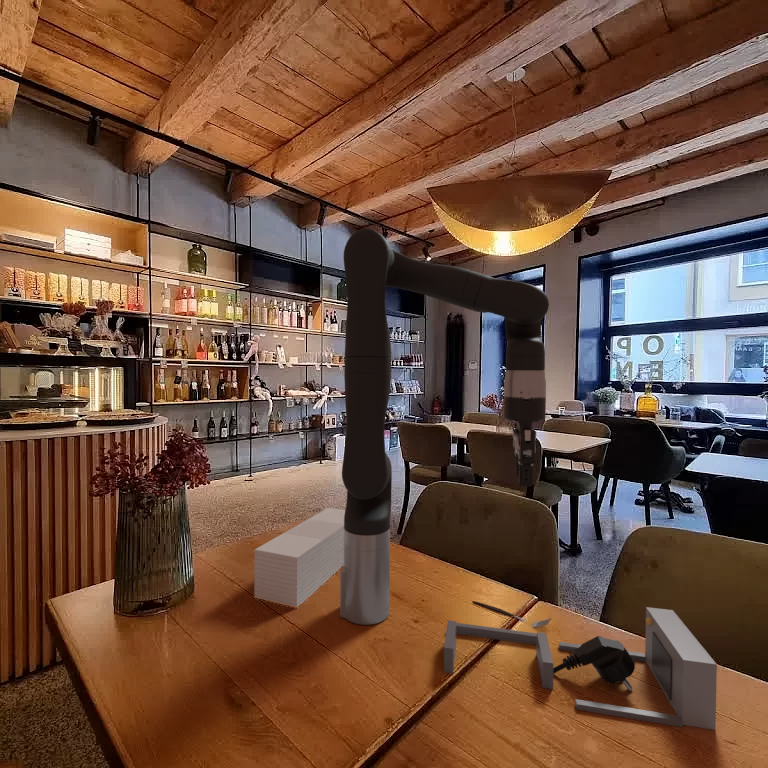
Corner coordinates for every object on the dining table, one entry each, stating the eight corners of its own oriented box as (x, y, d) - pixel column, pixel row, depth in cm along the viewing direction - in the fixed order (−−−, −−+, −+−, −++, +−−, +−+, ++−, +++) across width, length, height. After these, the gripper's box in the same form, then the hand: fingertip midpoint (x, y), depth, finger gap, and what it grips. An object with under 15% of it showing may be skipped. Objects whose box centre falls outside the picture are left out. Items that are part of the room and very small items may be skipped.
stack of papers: (327, 545, 122) (327, 507, 122) (362, 551, 118) (362, 512, 118) (254, 599, 93) (254, 549, 92) (297, 609, 89) (297, 557, 88)
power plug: (544, 656, 73) (609, 623, 70) (572, 697, 72) (638, 664, 70) (550, 679, 67) (620, 644, 65) (580, 724, 66) (651, 689, 64)
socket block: (576, 709, 62) (577, 647, 62) (558, 646, 77) (559, 595, 77) (717, 733, 58) (718, 666, 58) (670, 661, 73) (671, 608, 73)
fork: (475, 601, 93) (475, 592, 93) (551, 628, 83) (551, 618, 83) (469, 606, 91) (469, 596, 91) (547, 634, 81) (547, 624, 81)
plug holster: (443, 672, 70) (443, 647, 70) (449, 629, 82) (449, 608, 82) (552, 689, 66) (553, 663, 66) (542, 642, 78) (542, 620, 78)
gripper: (502, 393, 90) (501, 471, 90) (505, 396, 76) (504, 488, 76) (540, 393, 88) (539, 473, 88) (551, 396, 74) (550, 491, 74)
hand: (523, 480), depth 82 cm, fingers open, 8 cm apart
